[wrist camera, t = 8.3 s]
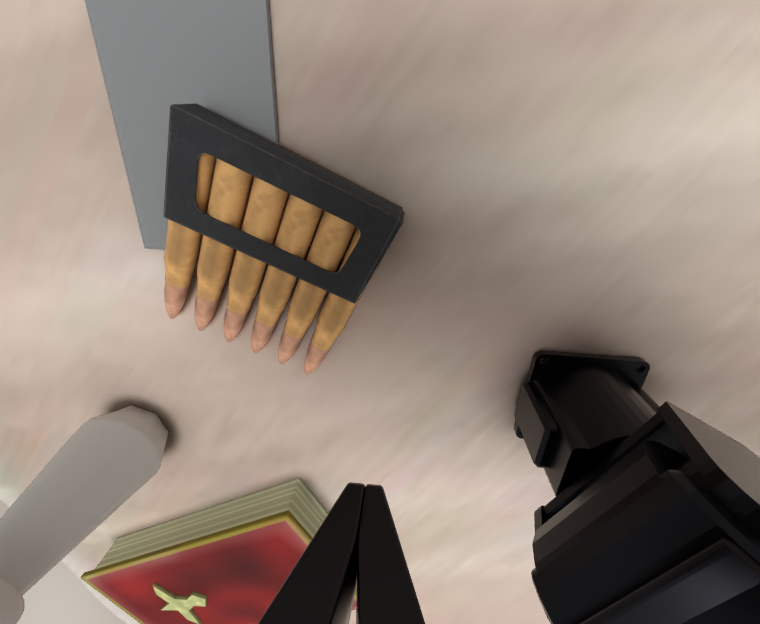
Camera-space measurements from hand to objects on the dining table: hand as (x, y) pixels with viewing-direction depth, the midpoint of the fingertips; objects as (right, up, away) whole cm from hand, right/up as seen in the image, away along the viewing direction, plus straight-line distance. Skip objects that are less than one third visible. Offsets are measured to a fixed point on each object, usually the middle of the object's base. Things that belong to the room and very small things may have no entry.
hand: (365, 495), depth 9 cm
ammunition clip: (-3, +11, +7) cm, 14 cm away
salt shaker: (-17, -4, +18) cm, 25 cm away
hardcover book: (-12, -17, +24) cm, 32 cm away
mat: (-9, +13, +9) cm, 18 cm away
